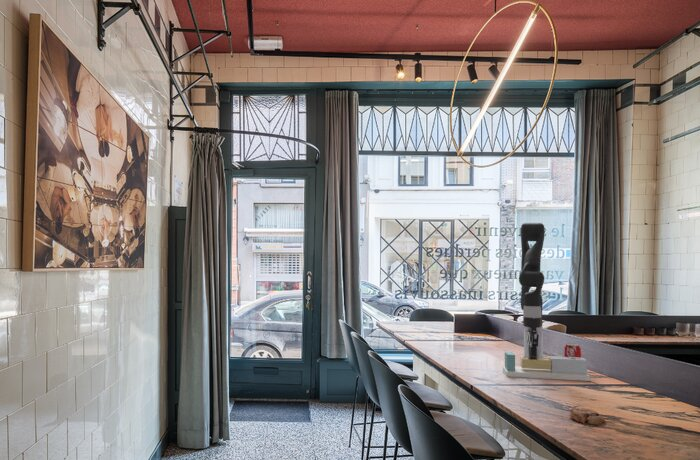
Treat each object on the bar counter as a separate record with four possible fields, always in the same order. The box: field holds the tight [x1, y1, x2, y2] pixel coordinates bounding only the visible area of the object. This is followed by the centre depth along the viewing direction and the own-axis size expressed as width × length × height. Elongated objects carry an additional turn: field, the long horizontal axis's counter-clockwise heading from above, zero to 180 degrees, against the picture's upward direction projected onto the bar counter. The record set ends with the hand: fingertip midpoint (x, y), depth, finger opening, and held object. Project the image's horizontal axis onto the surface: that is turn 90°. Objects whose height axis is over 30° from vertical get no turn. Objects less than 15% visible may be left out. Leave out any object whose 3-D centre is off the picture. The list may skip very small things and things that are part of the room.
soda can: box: [563, 342, 582, 358], centre depth 219 cm, size 7×7×12 cm
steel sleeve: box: [548, 355, 588, 374], centre depth 206 cm, size 6×14×6 cm, turn 80°
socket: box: [504, 350, 516, 371], centre depth 210 cm, size 8×3×7 cm, turn 170°
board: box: [502, 365, 591, 382], centre depth 207 cm, size 12×34×2 cm, turn 80°
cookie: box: [569, 407, 606, 426], centre depth 149 cm, size 10×11×3 cm
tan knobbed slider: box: [519, 344, 552, 370], centre depth 208 cm, size 4×20×10 cm, turn 80°
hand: (532, 354), depth 209 cm, fingers closed on tan knobbed slider, 3 cm apart
